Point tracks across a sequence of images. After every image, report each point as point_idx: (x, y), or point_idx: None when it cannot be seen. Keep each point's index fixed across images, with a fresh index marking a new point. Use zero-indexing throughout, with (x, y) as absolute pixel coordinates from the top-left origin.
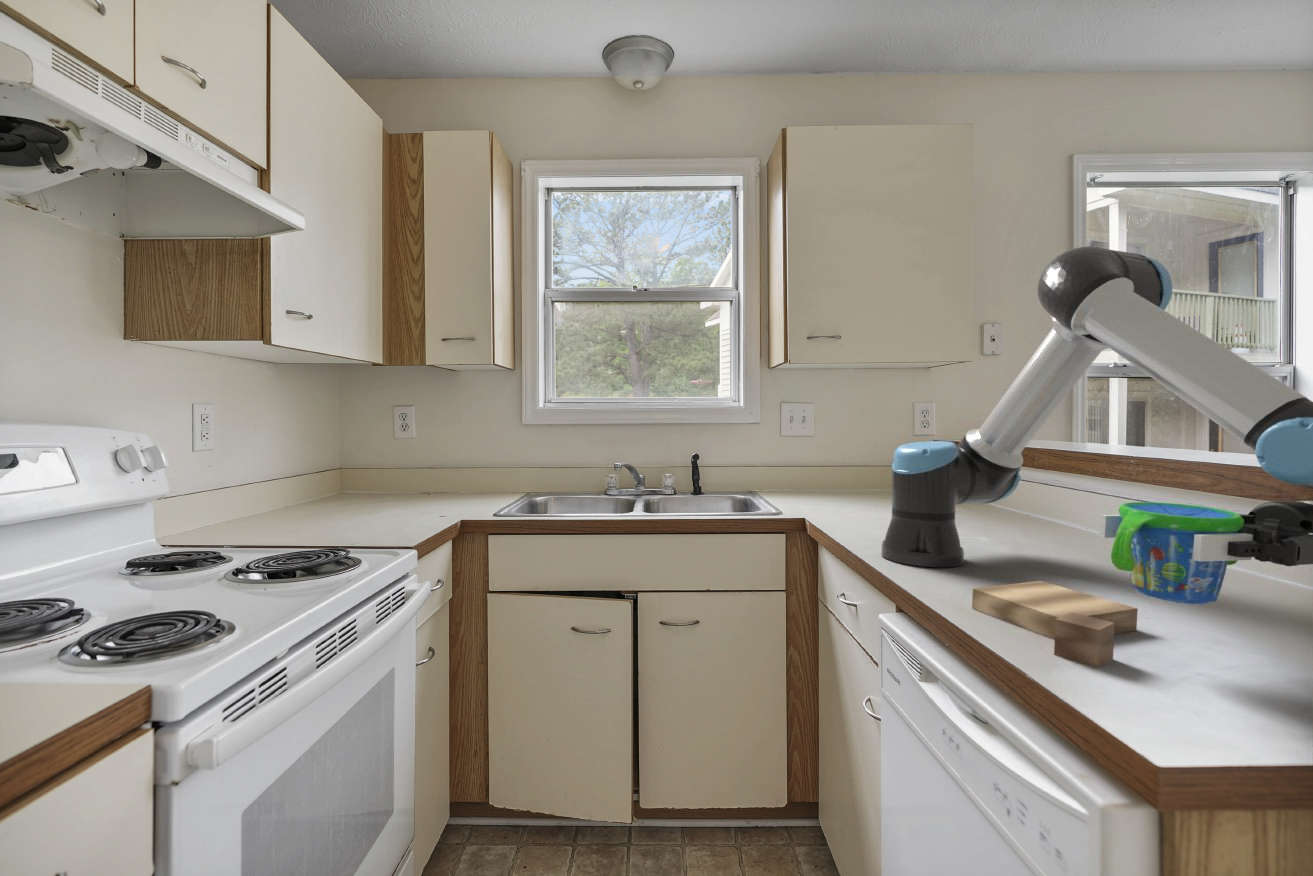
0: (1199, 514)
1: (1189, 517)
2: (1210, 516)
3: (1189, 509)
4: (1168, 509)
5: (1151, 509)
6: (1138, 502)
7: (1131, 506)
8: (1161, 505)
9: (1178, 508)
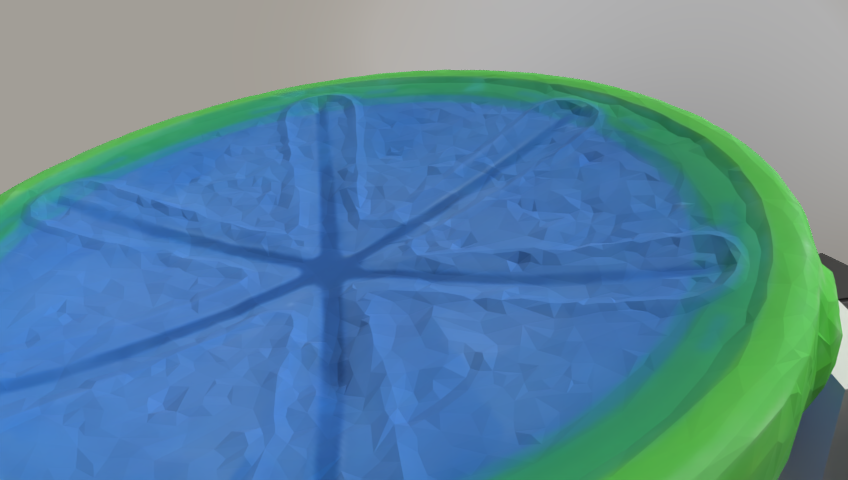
0: (276, 397)
1: (80, 154)
2: (132, 398)
3: (496, 424)
4: (575, 298)
5: (558, 202)
6: (734, 153)
7: (574, 116)
8: (709, 278)
9: (578, 361)
